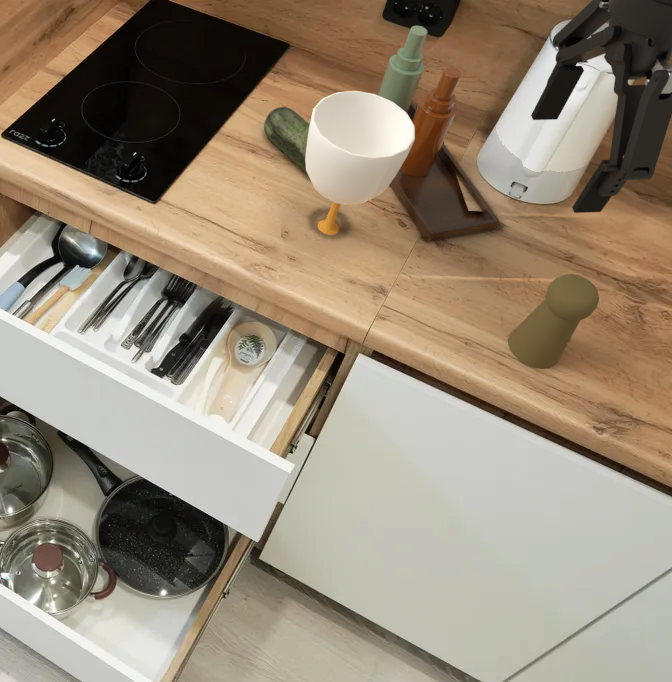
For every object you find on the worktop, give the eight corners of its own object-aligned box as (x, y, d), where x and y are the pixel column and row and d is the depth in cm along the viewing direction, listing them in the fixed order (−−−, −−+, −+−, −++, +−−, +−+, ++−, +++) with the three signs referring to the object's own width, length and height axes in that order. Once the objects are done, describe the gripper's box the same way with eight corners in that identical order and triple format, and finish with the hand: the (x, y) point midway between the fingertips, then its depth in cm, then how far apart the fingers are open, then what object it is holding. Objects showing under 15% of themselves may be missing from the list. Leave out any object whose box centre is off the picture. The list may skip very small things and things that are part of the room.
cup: (342, 189, 108) (379, 82, 94) (390, 250, 102) (437, 145, 88) (266, 210, 105) (292, 101, 91) (310, 274, 99) (346, 168, 85)
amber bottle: (426, 154, 113) (466, 61, 101) (434, 177, 110) (476, 85, 98) (393, 153, 112) (429, 59, 100) (399, 176, 109) (438, 83, 97)
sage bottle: (397, 113, 118) (433, 20, 105) (404, 135, 115) (441, 42, 103) (365, 112, 117) (397, 18, 105) (371, 134, 114) (404, 40, 102)
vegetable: (346, 179, 109) (355, 150, 105) (318, 193, 107) (326, 164, 103) (279, 121, 116) (286, 92, 111) (252, 134, 113) (258, 104, 109)
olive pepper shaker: (567, 344, 95) (616, 283, 86) (549, 377, 92) (598, 318, 83) (519, 318, 97) (562, 257, 88) (500, 350, 94) (543, 289, 85)
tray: (493, 232, 105) (500, 221, 103) (424, 245, 103) (430, 233, 101) (400, 102, 120) (405, 91, 118) (339, 111, 118) (342, 99, 116)
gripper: (580, -105, 74) (496, 84, 91) (693, 73, 60) (568, 254, 78) (660, -106, 74) (560, 82, 92) (790, 71, 60) (643, 252, 78)
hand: (564, 161), depth 85 cm, fingers open, 13 cm apart
